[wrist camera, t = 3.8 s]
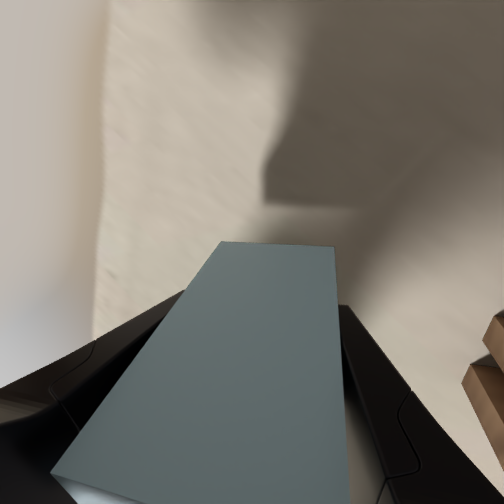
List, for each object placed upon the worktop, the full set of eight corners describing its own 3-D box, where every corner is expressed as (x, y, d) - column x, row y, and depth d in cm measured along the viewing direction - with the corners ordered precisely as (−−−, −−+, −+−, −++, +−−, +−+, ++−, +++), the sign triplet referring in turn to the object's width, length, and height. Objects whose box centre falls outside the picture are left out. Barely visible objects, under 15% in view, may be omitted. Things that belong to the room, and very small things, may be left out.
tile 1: (331, 282, 12) (341, 603, 4) (225, 273, 13) (87, 514, 5) (334, 246, 11) (354, 569, 3) (220, 241, 12) (49, 473, 5)
